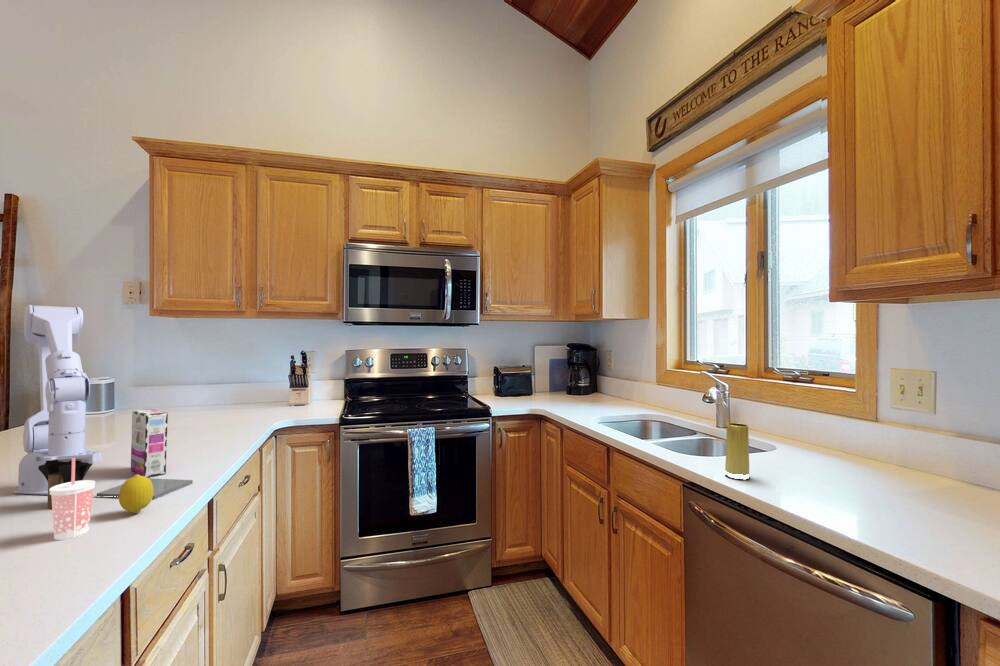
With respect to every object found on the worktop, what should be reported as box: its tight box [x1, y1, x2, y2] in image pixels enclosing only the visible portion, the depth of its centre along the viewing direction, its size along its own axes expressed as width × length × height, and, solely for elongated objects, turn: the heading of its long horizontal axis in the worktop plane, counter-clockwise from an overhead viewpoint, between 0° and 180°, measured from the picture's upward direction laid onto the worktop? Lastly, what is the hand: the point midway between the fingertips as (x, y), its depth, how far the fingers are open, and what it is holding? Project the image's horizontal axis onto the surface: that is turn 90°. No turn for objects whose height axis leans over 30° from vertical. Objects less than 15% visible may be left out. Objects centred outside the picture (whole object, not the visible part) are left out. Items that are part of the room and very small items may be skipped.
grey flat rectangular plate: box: [96, 477, 194, 500], centre depth 104 cm, size 14×11×1 cm
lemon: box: [118, 474, 154, 514], centre depth 91 cm, size 6×6×8 cm
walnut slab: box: [47, 472, 64, 509], centre depth 95 cm, size 2×5×7 cm, turn 175°
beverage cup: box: [49, 458, 96, 541], centre depth 81 cm, size 6×6×14 cm
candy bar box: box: [130, 408, 169, 478], centre depth 118 cm, size 11×5×16 cm, turn 55°
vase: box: [724, 422, 750, 475], centre depth 119 cm, size 6×6×14 cm
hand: (65, 495), depth 95 cm, fingers closed on walnut slab, 2 cm apart
